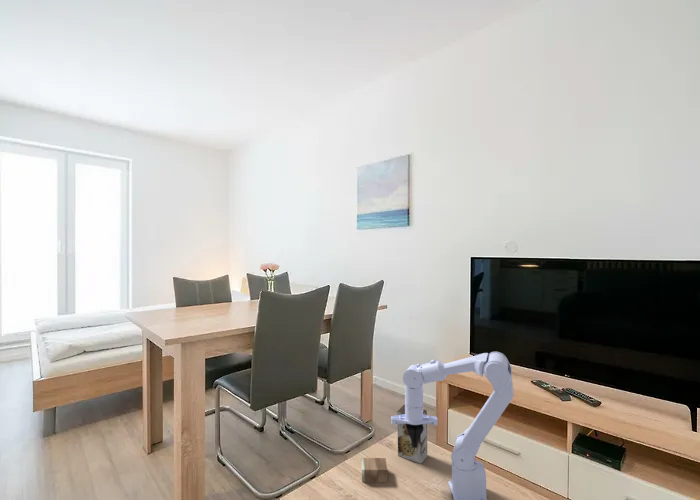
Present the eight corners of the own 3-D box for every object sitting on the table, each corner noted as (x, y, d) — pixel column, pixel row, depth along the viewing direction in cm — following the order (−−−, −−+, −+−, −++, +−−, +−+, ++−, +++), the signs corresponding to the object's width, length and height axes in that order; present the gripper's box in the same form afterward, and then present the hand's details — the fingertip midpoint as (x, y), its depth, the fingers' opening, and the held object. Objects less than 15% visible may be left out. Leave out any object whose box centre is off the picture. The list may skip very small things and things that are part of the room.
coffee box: (428, 454, 122) (427, 409, 122) (421, 464, 117) (420, 417, 116) (404, 446, 127) (404, 403, 127) (396, 455, 122) (396, 410, 121)
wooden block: (385, 458, 114) (361, 457, 114) (387, 469, 108) (361, 469, 108) (385, 469, 114) (362, 469, 114) (387, 482, 108) (362, 482, 108)
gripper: (434, 398, 113) (434, 439, 113) (390, 398, 114) (390, 438, 114) (439, 408, 106) (439, 452, 106) (392, 408, 107) (392, 451, 107)
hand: (414, 445), depth 110 cm, fingers closed
